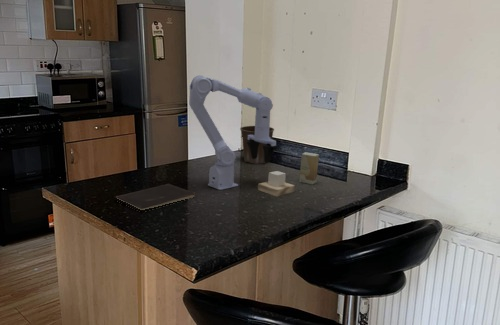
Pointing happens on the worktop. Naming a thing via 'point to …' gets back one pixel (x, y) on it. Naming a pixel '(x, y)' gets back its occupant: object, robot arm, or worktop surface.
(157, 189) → the hardcover book
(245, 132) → the plant pot
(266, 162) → the robot arm
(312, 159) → the skincare box
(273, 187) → the oak plinth
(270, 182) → the cream cube
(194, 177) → the worktop surface
